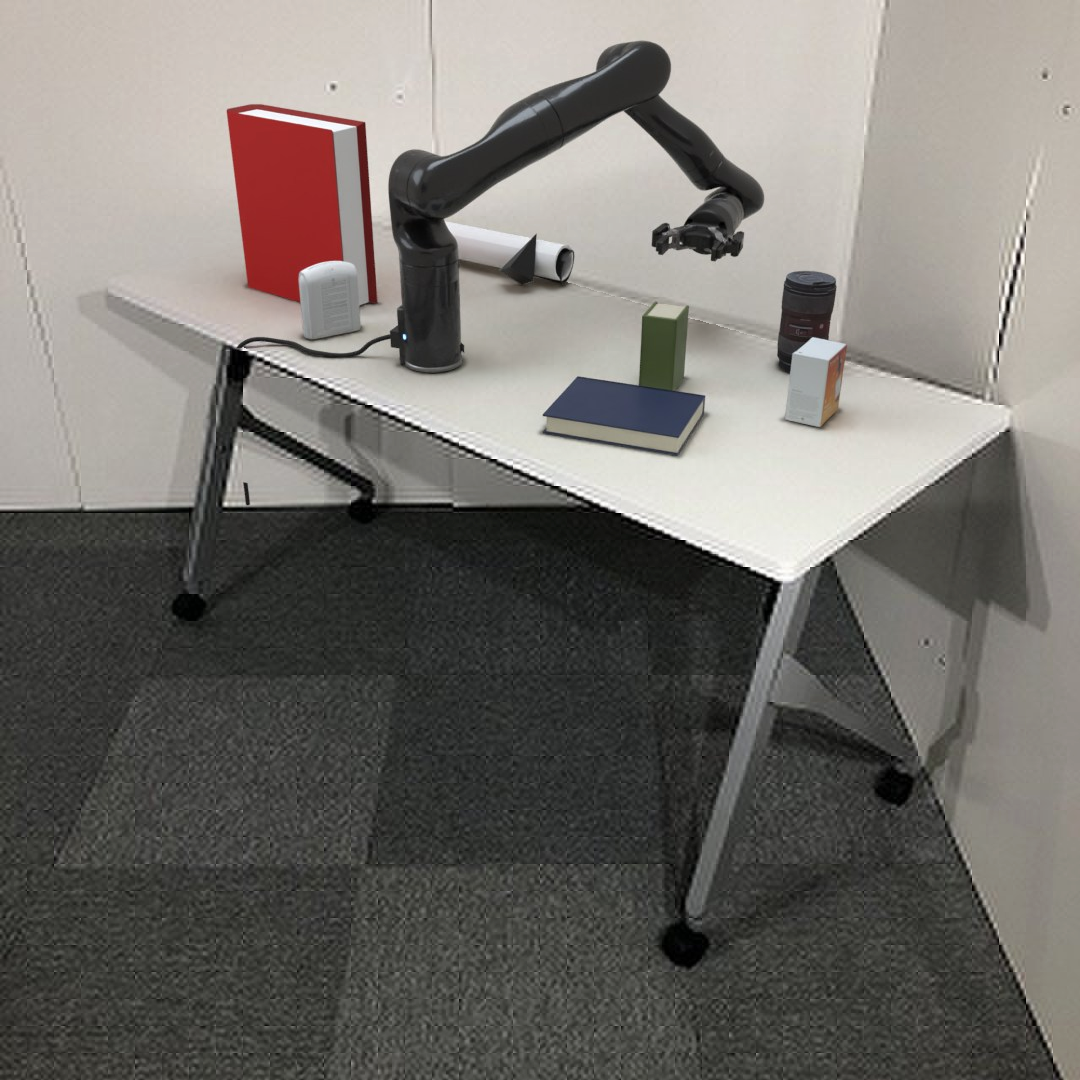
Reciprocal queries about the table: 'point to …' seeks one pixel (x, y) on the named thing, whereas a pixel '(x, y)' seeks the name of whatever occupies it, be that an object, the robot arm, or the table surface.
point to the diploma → (514, 254)
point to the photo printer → (329, 299)
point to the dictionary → (663, 346)
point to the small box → (815, 381)
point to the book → (301, 196)
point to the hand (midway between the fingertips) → (686, 251)
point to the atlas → (625, 415)
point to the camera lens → (804, 312)
